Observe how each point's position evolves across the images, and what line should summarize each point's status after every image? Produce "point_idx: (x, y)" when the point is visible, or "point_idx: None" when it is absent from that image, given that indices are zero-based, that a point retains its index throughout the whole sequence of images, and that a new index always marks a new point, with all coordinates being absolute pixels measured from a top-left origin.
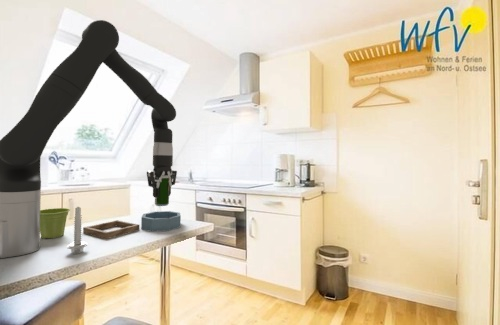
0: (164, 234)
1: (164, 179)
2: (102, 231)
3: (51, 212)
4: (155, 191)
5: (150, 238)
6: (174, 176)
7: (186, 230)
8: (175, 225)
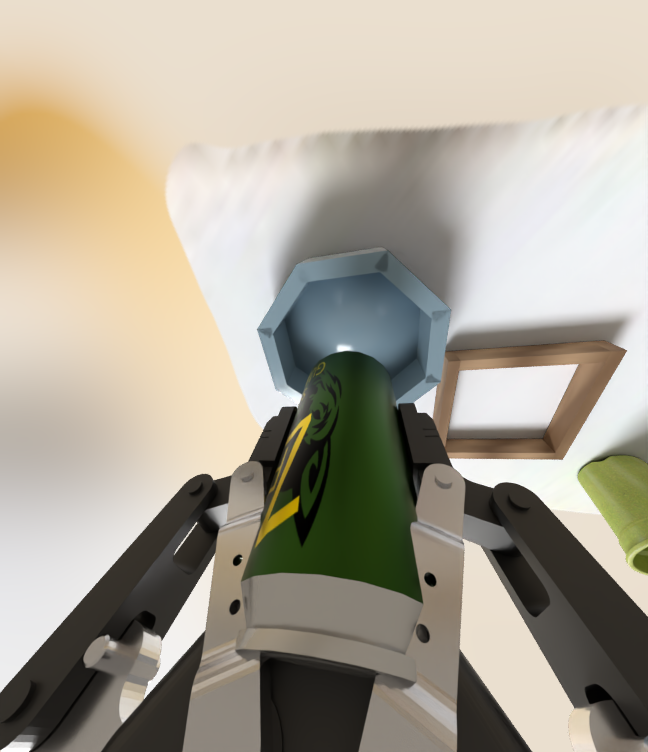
0: (446, 200)
1: (377, 556)
2: (605, 379)
3: (639, 558)
4: (442, 444)
5: (539, 191)
6: (125, 590)
7: (327, 170)
8: (339, 254)
